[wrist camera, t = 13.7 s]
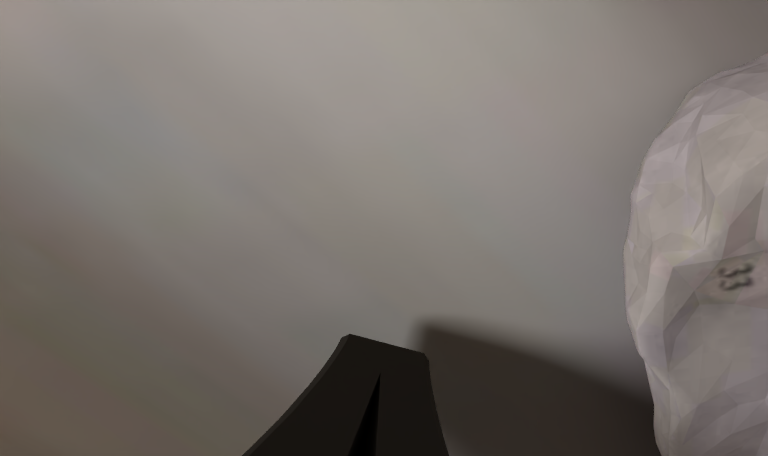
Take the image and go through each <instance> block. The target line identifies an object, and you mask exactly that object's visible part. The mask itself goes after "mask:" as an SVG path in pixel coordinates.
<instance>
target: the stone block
mask: <svg viewBox="0 0 768 456" xmlns="http://www.w3.org/2000/svg"><path fill="white" fill-rule="evenodd" d="M623 274H624V281H625V310H626V316H627V321H628V325H629V327H630V330H631V333H632V336H633V339H634V342H635V345H636V348H637V350H638V352H639V354H640V356H641V357H642V358H643V360H644V362H645V367H646V371H647V376H648V381H649V385H650V389H651V393H652V397H653V401H654V433H655V440H656V444H657V446H658V448H659V451H660V453H661V456H768V53H766V54H764V55H763V56H761V57H759V58H757V59H755V60H753V61H751V62H748V63H746V64H743V65H741V66H738V67H736V68H734V69H731V70H727V71H722V72H719V73H717V74H715V75H714V76H712V77H711V78H709V79H707V80H706V81H704V82H702V83H701V84H699V85H698V86H696V87H695V88H694V89H692V90H691V91H689V92H688V93H687V95H686V97H685V98H684V100H683V102H682V103H681V105H680V107H679V109H678V110H677V112H676V113H675V115H674V116H673V117H672V118H671V120H670V121H669V122H668V124H667V125H666V126H665V127H664V129H663V130H662V131H661V132H660V134H659V135H658V136H657V137H656V138H655V140H654V141H653V143H652V145H651V146H650V148H649V150H648V152H647V153H646V155H645V157H644V158H643V161H642V164H641V167H640V169H639V172H638V175H637V178H636V181H635V184H634V187H633V189H632V192H631V215H630V221H629V226H628V232H627V237H626V241H625V245H624V249H623Z"/></svg>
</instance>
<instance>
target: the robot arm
mask: <svg viewBox="0 0 768 456" xmlns="http://www.w3.org/2000/svg"><path fill="white" fill-rule="evenodd" d="M242 456H449V455H448V451H447V448H446V444H445V441H444V438H443V434H442V430H441V427H440V423H439V419H438V414H437V410H436V405H435V401H434V396H433V391H432V385H431V379H430V371H429V361H428V359H427V358H426V356H425V354H424V353H421V352H417V351H413V350H409V349H405V348H402V347H398V346H394V345H390V344H386V343H383V342H379V341H375V340H371V339H367V338H364V337H360V336H356V335H352V334H349V335H346V336H344V337H342V338H341V340H340V342H339V344H338V346H337V347H336V349H335V351H334V352H333V354H332V355H331V357H330V358H329V360H328V361H327V363H326V364H325V365H324V367H323V368H322V369H321V371H320V372H319V373H318V374H317V376H316V377H315V378H314V380H313V381H312V382H311V383H310V385H309V386H308V387H307V388H306V389H305V390H304V392H303V393H302V394H301V395H300V396H299V397H298V398H297V400H296V401H295V402H294V403H293V404H292V405H291V406H290V408H289V409H288V410H287V411H286V412H285V413H284V414H283V415H282V416H281V418H280V419H279V420H278V421H277V422H276V423H275V424H274V425H273V426H272V427H271V428H270V429H269V430H268V431H267V432H266V433H265V434H264V435H263V436H262V437H261V438H260V439H259V440H258V441H257V442H256V443H255V444H254V445H253V446H252V447H251V448H250V449H249V450H247V451H246V452H245V453H244V454H243V455H242Z"/></svg>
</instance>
